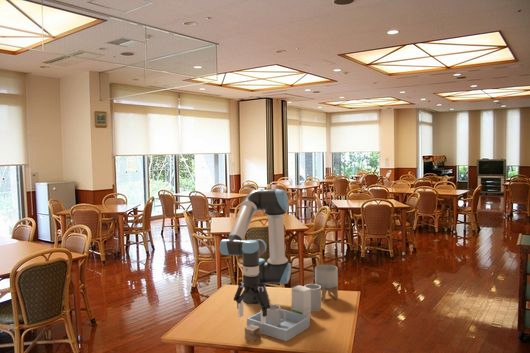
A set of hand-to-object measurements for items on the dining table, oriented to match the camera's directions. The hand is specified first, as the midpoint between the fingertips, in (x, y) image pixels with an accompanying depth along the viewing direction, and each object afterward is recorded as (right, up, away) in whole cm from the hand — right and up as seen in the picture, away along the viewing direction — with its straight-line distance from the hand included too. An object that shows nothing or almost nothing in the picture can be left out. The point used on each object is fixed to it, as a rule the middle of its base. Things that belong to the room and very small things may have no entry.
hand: (251, 319), depth 199 cm
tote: (+13, -8, +12) cm, 19 cm away
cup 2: (+32, -6, +36) cm, 48 cm away
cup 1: (+12, -7, +13) cm, 19 cm away
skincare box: (+25, -7, +24) cm, 35 cm away
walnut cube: (0, -9, +1) cm, 9 cm away
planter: (+42, -4, +51) cm, 66 cm away
